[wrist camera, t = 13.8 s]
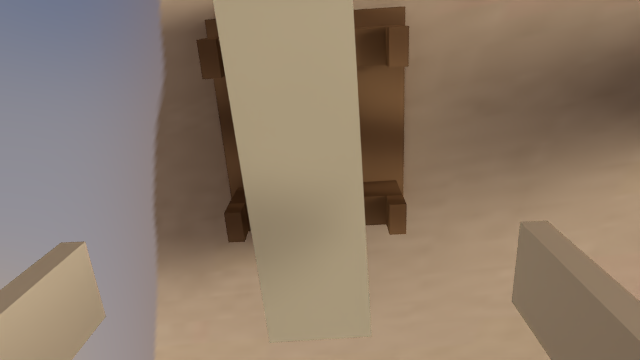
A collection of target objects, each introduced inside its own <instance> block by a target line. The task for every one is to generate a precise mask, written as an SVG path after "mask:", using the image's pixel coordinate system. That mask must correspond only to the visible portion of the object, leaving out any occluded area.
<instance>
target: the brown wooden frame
mask: <svg viewBox="0 0 640 360" xmlns="http://www.w3.org/2000/svg"><path fill="white" fill-rule="evenodd" d="M353 11H354V29H355V47H356V65H357V83H358V101H359V119H360V137H361V155H362V173H363V191H364V209H365V225H381V224H387V227H388V230H389V234H390V235H392V234H406V202H405V200H404V197H403V164H404V69H405V67H406V66H408V56H409V26H405V7H391V8H376V9H361V10H353ZM205 25H206V31H207V38H205V39H199V40H197V46H198V52H199V58H200V65H201V71H202V77H203V79H211V78H214V85H215V91H216V98H217V105H218V111H219V118H220V125H221V131H222V138H223V145H224V151H225V158H226V165H227V171H228V178H229V185H230V191H231V198H232V199H231V201H230V203H229V205H228V207H227V209H226V211H225V213H224V216H225V222H226V228H227V235H228V241H229V242H245V239H246V236H247V234H248V231H251V228H250V222H249V216H248V210H247V204H246V198H245V191H244V185H243V179H242V173H241V167H240V161H239V155H238V149H237V143H236V137H235V131H234V125H233V119H232V113H231V107H230V101H229V95H228V89H227V83H226V77H225V71H224V65H223V59H222V53H221V47H220V41H219V35H218V29H217V23H216V19H211V20H205Z"/></svg>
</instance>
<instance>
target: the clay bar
mask: <svg viewBox="0 0 640 360" xmlns="http://www.w3.org/2000/svg"><path fill="white" fill-rule="evenodd" d="M213 5H214V11H215V17H216V23H217V29H218V35H219V41H220V47H221V53H222V59H223V65H224V71H225V77H226V83H227V89H228V95H229V101H230V107H231V113H232V119H233V125H234V131H235V137H236V143H237V149H238V155H239V161H240V167H241V173H242V179H243V185H244V191H245V198H246V204H247V210H248V216H249V222H250V228H251V234H252V240H253V246H254V252H255V258H256V264H257V270H258V276H259V282H260V288H261V294H262V300H263V306H264V312H265V318H266V324H267V330H268V336H269V342H270V343H274V342H291V341H307V340H324V339H340V338H357V337H372V335H371V317H370V299H369V281H368V263H367V245H366V227H365V209H364V191H363V173H362V155H361V137H360V119H359V101H358V83H357V65H356V47H355V29H354V11H353V0H213Z"/></svg>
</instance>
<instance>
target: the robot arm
mask: <svg viewBox="0 0 640 360" xmlns="http://www.w3.org/2000/svg"><path fill="white" fill-rule="evenodd" d="M512 302H513V304H514V305H515V307H516V308H517V310H518V311H519V313H520V314H521V316H522V317H523V319H524V320H525V322H526V323H527V325H528V326H529V328H530V329H531V330H532V332H533V333H534V335H535V336H536V338H537V339H538V341H539V342H540V344H541V345H542V347H543V348H544V350H545V351H546V353H547V354H548V356H549V357H550V359H551V360H640V301H639V300H637V299H636V298H635V297H634V296H633V295H632V294H631V293H629V292H628V291H627V290H626V289H625V288H624V287H622V286H621V285H620V284H619V283H618V282H617V281H616V280H614V279H613V278H612V277H611V276H610V275H609V274H608V273H606V272H605V271H604V270H603V269H602V268H601V267H599V266H598V265H597V264H596V263H595V262H594V261H593V260H591V259H590V258H589V257H588V256H587V255H586V254H585V253H583V252H582V251H581V250H580V249H579V248H578V247H576V246H575V245H574V244H573V243H572V242H571V241H570V240H568V239H567V238H566V237H565V236H564V235H563V234H562V233H560V232H559V231H558V230H557V229H556V228H555V227H553V226H552V225H551V224H550V223H549V222H548V221H531V222H520V229H519V239H518V248H517V257H516V266H515V276H514V285H513V294H512ZM105 317H106V315H105V312H104V308H103V304H102V301H101V297H100V294H99V290H98V286H97V283H96V279H95V276H94V272H93V268H92V265H91V261H90V257H89V254H88V251H87V247H86V243H85V242H68V243H67V242H66V243H60V244H59V245H57V246H56V247H55V248H54V249H53V250H51V251H50V252H48V253H47V254H46V255H45V256H43V257H42V258H41V259H39V260H38V261H37V262H36V263H34V264H33V265H32V266H31V267H29V268H28V269H27V270H25V271H24V272H23V273H22V274H20V275H19V276H18V277H16V278H15V279H14V280H13V281H11V282H10V283H9V284H8V285H6V286H5V287H4V288H2V290H0V360H72V359H73V358H74V356H75V355H76V353H77V352H78V351H79V350H80V349H81V347H82V346H83V345H84V344H85V342H86V341H87V340H88V339H89V337H90V336H91V335H92V333H93V332H94V331H95V330H96V328H97V327H98V326H99V324H100V323H101V322H102V321H103V319H104V318H105Z"/></svg>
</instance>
